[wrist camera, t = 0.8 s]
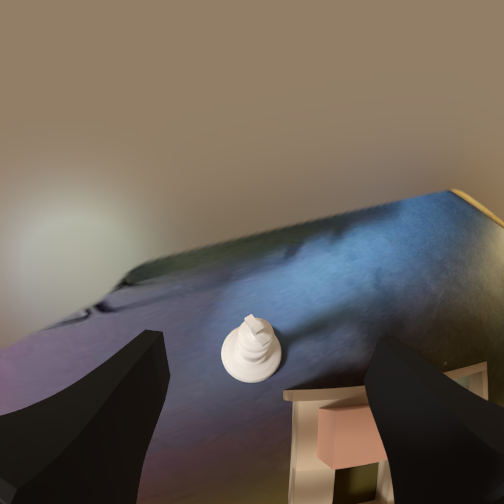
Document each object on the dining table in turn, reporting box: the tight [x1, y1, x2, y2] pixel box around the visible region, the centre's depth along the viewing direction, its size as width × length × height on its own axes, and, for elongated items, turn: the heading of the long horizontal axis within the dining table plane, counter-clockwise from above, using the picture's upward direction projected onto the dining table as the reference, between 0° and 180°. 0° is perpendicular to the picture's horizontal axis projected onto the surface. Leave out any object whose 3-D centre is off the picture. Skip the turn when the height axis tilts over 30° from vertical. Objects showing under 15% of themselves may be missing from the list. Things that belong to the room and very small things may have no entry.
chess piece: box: [221, 314, 281, 383], centre depth 18 cm, size 5×5×10 cm
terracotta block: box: [317, 404, 388, 470], centre depth 15 cm, size 4×4×4 cm
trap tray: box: [283, 362, 488, 504], centre depth 16 cm, size 13×19×4 cm
